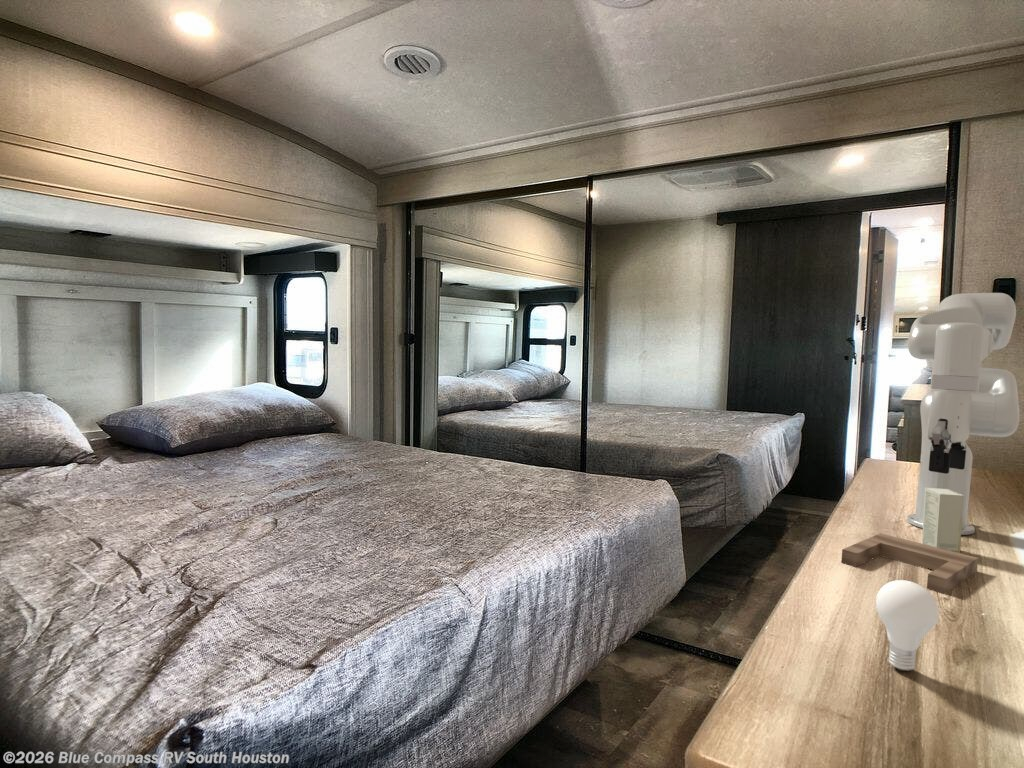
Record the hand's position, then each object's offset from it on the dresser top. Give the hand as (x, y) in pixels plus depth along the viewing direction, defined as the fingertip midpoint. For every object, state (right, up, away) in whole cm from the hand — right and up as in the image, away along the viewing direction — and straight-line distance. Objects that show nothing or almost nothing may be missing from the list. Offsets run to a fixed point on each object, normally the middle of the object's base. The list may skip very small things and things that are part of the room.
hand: (946, 470), depth 115 cm
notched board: (-14, -17, -9) cm, 23 cm away
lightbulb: (-39, -18, -45) cm, 62 cm away
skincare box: (0, -17, +1) cm, 17 cm away
